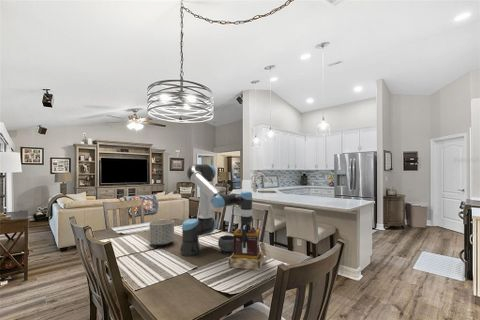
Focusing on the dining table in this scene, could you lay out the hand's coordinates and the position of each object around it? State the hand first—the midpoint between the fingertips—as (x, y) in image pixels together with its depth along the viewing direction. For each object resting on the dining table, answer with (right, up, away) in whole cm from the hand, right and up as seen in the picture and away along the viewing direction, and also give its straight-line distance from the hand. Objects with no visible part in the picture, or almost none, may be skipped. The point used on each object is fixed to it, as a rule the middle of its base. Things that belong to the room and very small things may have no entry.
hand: (246, 249), depth 158 cm
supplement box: (0, -4, 0) cm, 4 cm away
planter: (-68, -10, +40) cm, 79 cm away
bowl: (-13, -10, +24) cm, 29 cm away
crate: (0, -9, 0) cm, 9 cm away
